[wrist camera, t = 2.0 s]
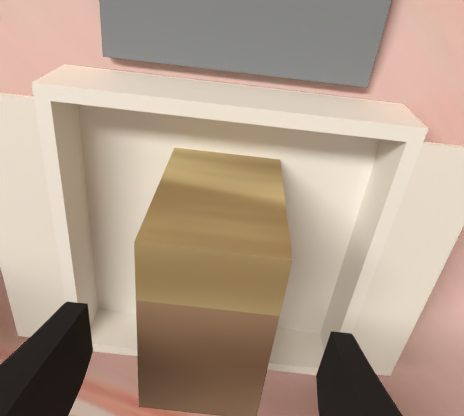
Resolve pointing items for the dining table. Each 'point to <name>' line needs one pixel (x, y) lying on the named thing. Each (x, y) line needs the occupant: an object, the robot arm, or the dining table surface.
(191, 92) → the white tray
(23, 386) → the robot arm
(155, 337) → the walnut block
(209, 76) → the dining table surface
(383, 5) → the mat
